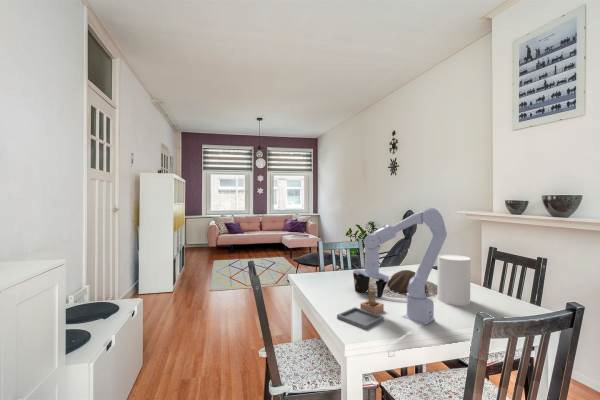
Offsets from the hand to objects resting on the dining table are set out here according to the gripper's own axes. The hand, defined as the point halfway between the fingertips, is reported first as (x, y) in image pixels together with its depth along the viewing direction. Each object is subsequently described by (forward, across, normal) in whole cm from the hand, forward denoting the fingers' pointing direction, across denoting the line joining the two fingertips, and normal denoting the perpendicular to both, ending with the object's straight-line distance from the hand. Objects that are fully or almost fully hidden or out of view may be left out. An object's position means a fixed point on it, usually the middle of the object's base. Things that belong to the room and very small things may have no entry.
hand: (371, 294), depth 125 cm
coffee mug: (+7, -19, +19) cm, 28 cm away
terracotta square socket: (+7, 0, 0) cm, 7 cm away
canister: (+7, +18, +39) cm, 44 cm away
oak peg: (+6, 0, 0) cm, 7 cm away
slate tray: (+7, +2, -11) cm, 13 cm away
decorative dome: (+7, -5, +39) cm, 40 cm away
